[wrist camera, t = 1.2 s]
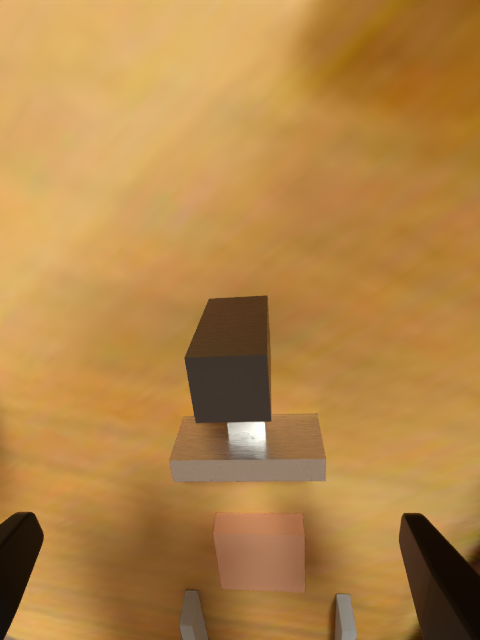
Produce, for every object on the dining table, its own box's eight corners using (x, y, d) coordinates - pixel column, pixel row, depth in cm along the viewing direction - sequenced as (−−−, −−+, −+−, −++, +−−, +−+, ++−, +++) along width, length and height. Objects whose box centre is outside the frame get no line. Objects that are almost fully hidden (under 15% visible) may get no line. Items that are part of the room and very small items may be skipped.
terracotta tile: (302, 508, 25) (304, 535, 23) (302, 563, 27) (304, 592, 25) (216, 507, 26) (212, 533, 24) (224, 561, 28) (221, 589, 26)
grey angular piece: (317, 292, 18) (339, 351, 12) (317, 433, 22) (333, 526, 16) (161, 301, 19) (118, 360, 13) (187, 435, 22) (160, 525, 17)
